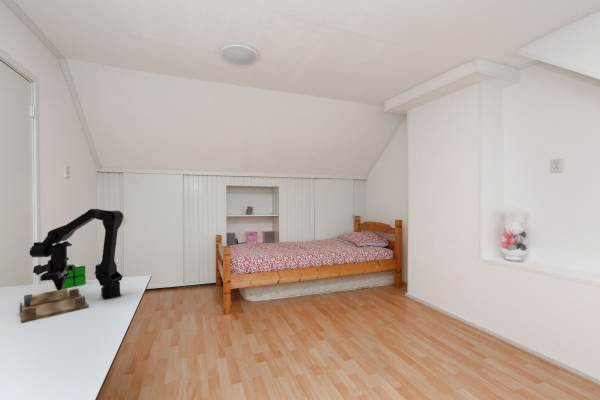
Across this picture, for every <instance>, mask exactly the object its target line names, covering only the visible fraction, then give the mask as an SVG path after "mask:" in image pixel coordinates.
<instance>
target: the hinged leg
mask: <svg viewBox="0 0 600 400" xmlns="http://www.w3.org/2000/svg"><path fill="white" fill-rule="evenodd" d="M68 296H69V294H68V288H64V289H62V290H57V289H56V290H53V291H51V290H50V291H46V292H41V293H35V294H25V295H23V305H24V306H31V305H36V304H41V303H46V302H51V301H56V300H61V299H66V298H68Z"/></svg>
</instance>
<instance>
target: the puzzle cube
mask: <svg viewBox="0 0 600 400" xmlns="http://www.w3.org/2000/svg"><path fill="white" fill-rule="evenodd" d="M72 264H73V265H75V270H74V271H71V270H68V271H65V272H66V274H67V273H70V275H69V276H68V278H67V280H66V282H65V284H64V286H63V288H62V289H69V288H74V287H78V286H82V285H84V286H85V284H86V281H87V280H86V265H84V264H81V263H72Z"/></svg>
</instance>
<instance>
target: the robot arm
mask: <svg viewBox="0 0 600 400" xmlns="http://www.w3.org/2000/svg"><path fill="white" fill-rule="evenodd" d="M95 219H96V220H99V221H102V225H103V228H104V230H105V231H104V239H103V240H104V241H103V247H102V256H101V262H100V263H98V264H96V265H95V267H94V268H95V272H94V273H93V275H95V278H96V280H97V281H98V283H99V285H100V294H101V296H100V297H101V298H103V299H104V300H110V299H113V298H119V297H121V296H122V294H121V281H122V279H123V275H122V274H121V273H120V272H119V271H118V266H117V263H116V260H115V258H116V250H117V249H116V247H117V241H118V240H117V238H118V231H119V229H120V227H121V226H122V223H123V220H124V214H123V212H122V211H120V210H116V209H115V210H105V209H100V208H90V209H88V210H87V211H85V212H84V213H83V214H81V215H79V216H77V217H76V218H75V219H72V221H70V222H68V223H67V224H65V225H62V226H61V225H60V226H59V227H56V228H54V229H53V228H52V229H51V230H49V231H48V232H47V236H46V237H45V238H44V239H43V241H42V242H41V241H37V242H33V244H32V246H31V247H30V249H29V255H30V257H32V258H49V257H50V259H49V260H47V263H46V264H43V265H41V264H38V265H35V266H33V269H32V270H33V271H32V273H34V274H35V275H36V276H39V275H40V276H39V277H40V278H39V279H40V280H39V281H40V282H44V281H52V282H53V284H54V285H55V289H56V291H57V290H62V288H63V286H64V284H65V282H66V280H67V278H68V276H69V275H70V273H67V274H66V272H65V271H68V270H71V271H74V270H75V265H73V264H74V263H72V264H71V263H70V264H68V261H69V259H70V257H69V256H68V247H72V246H73V244H72V243H70V242H69V241H68V239H70V237H72V236H73V235H74V233H75V232H76V231H77V230H79V229H81V228H82V227H83V226H85V225H87V224H89V223H90V222H92V221H93V220H95Z"/></svg>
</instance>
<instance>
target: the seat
mask: <svg viewBox="0 0 600 400" xmlns="http://www.w3.org/2000/svg"><path fill="white" fill-rule="evenodd" d="M79 290H80V289H79V288H72V289H69V290H68V291H69V292H68V293H69V294H68V298H66V299H61V300H56V301H51V302H46V303H41V304H36V305H31V306H24V304H23V303H22V302H19V314H20V315H19V317H20V322H21V324H23V323H27V322H33V321H37V320H39V319H40V320H41V319H44V318H45V319H46V318H49V317H54V316H58V315H59V316H60V315H63V314H67V313H72V312H76V311H79V310H80V311H81V310H83V309H89V308H90V305H89V303H88V302H87V301H86V297H85V295H82V294H80V291H79Z"/></svg>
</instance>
